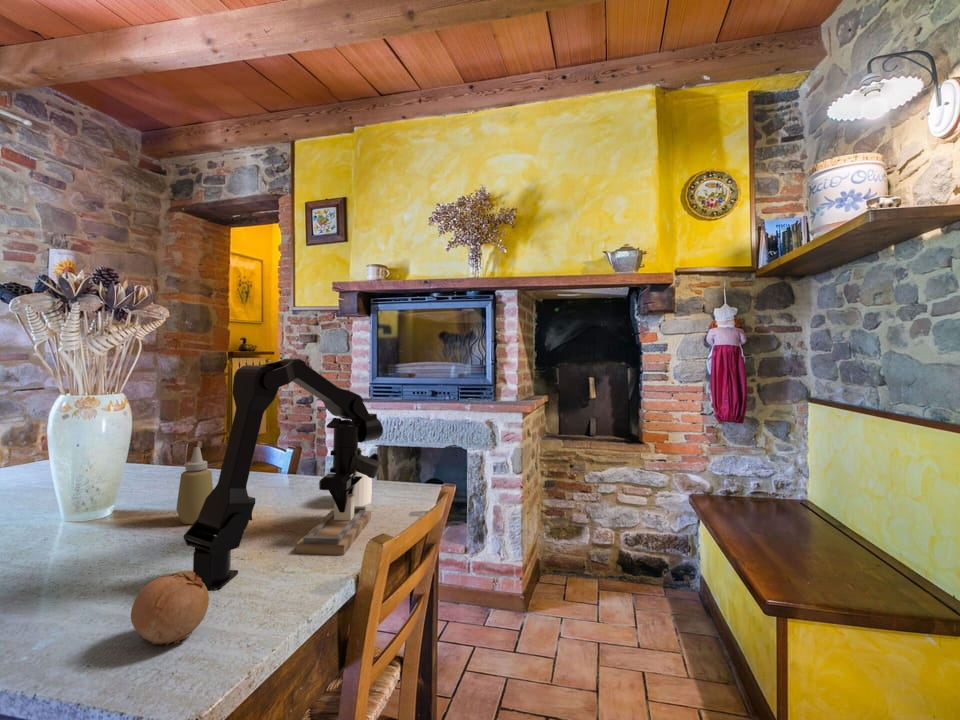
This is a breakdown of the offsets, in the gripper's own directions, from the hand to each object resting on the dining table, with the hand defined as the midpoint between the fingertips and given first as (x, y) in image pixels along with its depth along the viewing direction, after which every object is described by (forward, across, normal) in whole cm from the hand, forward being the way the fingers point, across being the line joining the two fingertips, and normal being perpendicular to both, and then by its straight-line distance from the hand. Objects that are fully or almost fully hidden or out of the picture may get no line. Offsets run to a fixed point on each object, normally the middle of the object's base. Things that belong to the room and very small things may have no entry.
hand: (344, 510), depth 114 cm
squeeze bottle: (+4, +1, +37) cm, 37 cm away
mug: (+4, +20, +4) cm, 21 cm away
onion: (+4, -46, +11) cm, 47 cm away
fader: (+2, 0, 0) cm, 2 cm away
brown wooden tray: (+4, -5, 0) cm, 6 cm away
